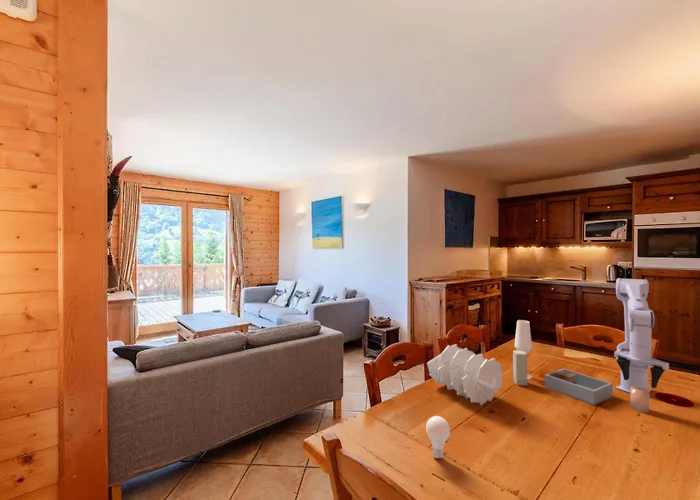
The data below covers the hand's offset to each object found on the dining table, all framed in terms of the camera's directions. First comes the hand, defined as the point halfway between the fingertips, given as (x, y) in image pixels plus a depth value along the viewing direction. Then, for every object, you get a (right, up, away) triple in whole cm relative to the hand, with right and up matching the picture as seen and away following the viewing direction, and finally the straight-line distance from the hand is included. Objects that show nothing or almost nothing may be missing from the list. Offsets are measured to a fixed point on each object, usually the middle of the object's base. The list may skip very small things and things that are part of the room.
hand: (639, 383), depth 115 cm
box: (-30, -9, +22) cm, 39 cm away
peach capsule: (0, -9, 0) cm, 9 cm away
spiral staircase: (-57, -9, +12) cm, 59 cm away
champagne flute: (-25, -9, +30) cm, 40 cm away
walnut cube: (-14, -8, +18) cm, 24 cm away
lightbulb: (-77, -10, -25) cm, 82 cm away
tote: (-12, -9, +14) cm, 21 cm away
